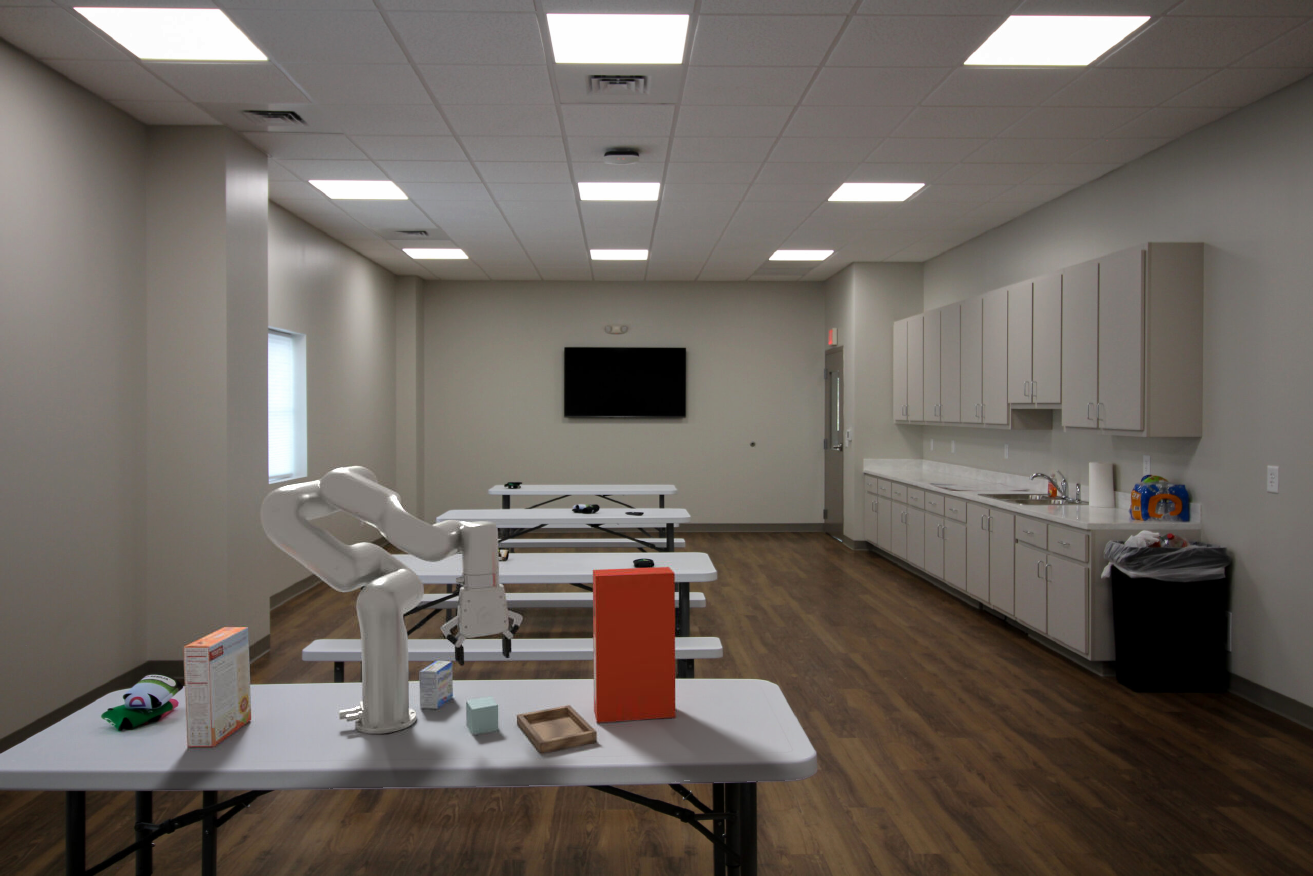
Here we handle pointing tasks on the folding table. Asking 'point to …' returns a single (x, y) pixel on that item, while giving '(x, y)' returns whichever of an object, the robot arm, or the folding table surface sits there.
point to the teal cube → (481, 715)
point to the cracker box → (217, 686)
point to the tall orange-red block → (634, 643)
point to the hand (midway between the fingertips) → (483, 660)
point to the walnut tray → (556, 729)
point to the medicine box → (436, 684)
